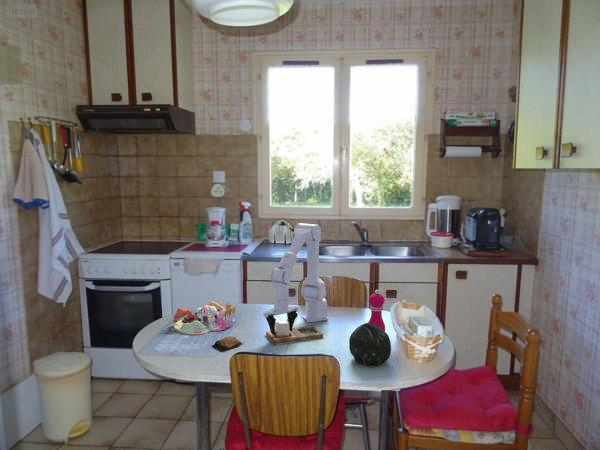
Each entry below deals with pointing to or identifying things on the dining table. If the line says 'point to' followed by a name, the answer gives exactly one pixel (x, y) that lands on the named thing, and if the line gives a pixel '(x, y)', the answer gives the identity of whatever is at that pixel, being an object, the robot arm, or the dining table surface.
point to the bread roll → (227, 344)
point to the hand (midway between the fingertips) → (281, 331)
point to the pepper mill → (377, 309)
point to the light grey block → (281, 328)
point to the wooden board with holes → (296, 335)
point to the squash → (370, 344)
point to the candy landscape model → (204, 319)
